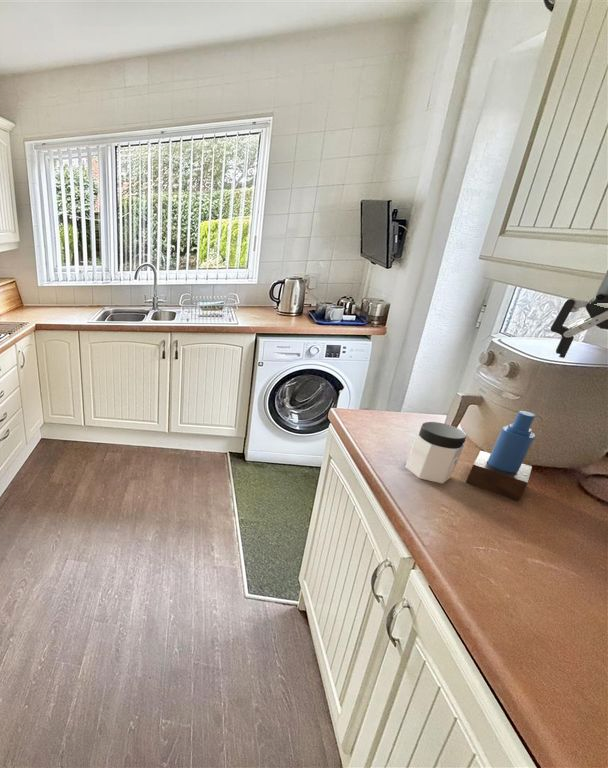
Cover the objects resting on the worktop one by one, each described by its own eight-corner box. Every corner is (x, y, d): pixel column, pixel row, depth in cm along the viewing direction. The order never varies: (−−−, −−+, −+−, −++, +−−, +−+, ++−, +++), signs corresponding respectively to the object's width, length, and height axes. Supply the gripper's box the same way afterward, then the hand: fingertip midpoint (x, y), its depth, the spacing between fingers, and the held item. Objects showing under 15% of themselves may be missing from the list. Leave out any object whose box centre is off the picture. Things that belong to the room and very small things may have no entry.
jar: (439, 487, 93) (457, 443, 88) (400, 470, 99) (414, 427, 94) (455, 475, 97) (473, 432, 92) (416, 459, 103) (431, 418, 99)
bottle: (519, 466, 92) (545, 413, 86) (516, 475, 89) (543, 421, 83) (489, 456, 95) (512, 405, 90) (485, 465, 92) (509, 413, 87)
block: (523, 484, 94) (532, 466, 92) (518, 501, 88) (527, 482, 86) (473, 467, 100) (480, 450, 98) (465, 482, 95) (473, 464, 93)
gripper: (717, 270, 62) (660, 368, 68) (580, 262, 72) (541, 348, 78) (726, 275, 58) (664, 379, 64) (578, 266, 68) (537, 357, 74)
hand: (596, 362), depth 71 cm, fingers open, 8 cm apart
